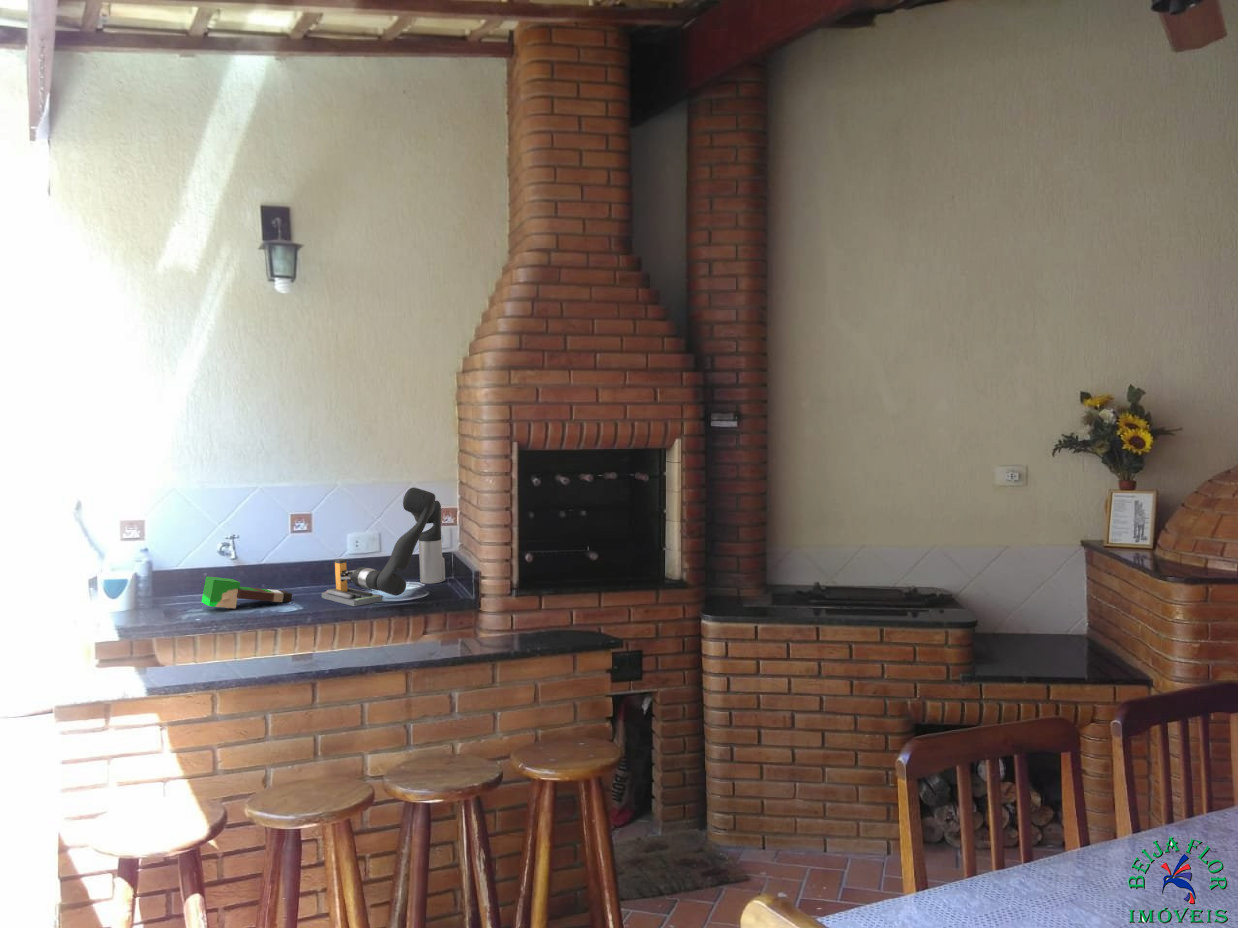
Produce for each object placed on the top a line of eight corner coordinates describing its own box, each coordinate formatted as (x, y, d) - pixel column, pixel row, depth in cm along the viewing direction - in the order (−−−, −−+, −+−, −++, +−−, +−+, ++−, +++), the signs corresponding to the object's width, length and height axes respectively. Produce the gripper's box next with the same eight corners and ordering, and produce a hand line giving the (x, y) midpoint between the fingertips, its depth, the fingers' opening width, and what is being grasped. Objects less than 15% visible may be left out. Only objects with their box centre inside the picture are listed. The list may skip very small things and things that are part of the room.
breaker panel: (349, 593, 415) (349, 583, 415) (382, 601, 398) (382, 591, 398) (321, 597, 407) (321, 588, 407) (354, 606, 390) (353, 596, 389)
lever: (342, 589, 410) (341, 558, 409) (347, 591, 407) (346, 559, 406) (336, 591, 408) (334, 559, 407) (340, 592, 405) (339, 560, 404)
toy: (278, 611, 410) (198, 604, 392) (283, 583, 411) (203, 575, 393) (291, 617, 398) (210, 610, 380) (297, 588, 399) (216, 580, 381)
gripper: (382, 565, 397) (358, 561, 410) (350, 570, 388) (327, 565, 401) (383, 585, 398) (359, 580, 411) (351, 591, 389) (328, 585, 401)
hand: (343, 573), depth 406 cm, fingers closed
